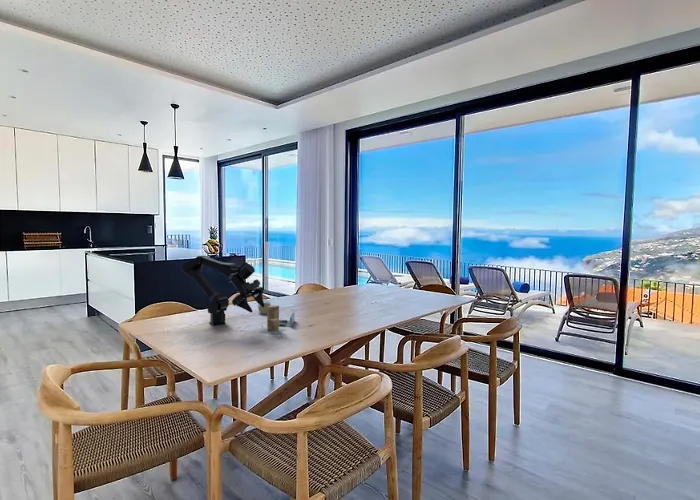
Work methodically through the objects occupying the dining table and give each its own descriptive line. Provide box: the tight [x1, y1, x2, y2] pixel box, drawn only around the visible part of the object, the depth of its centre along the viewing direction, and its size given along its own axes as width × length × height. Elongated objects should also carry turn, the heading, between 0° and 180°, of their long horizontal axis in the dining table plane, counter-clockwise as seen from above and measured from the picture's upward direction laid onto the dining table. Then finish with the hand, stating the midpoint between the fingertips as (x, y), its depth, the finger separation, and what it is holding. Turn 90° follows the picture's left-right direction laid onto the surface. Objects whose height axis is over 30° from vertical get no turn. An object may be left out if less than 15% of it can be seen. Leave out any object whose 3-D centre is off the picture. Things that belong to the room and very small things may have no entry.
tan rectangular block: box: [266, 304, 280, 332], centre depth 180 cm, size 4×4×12 cm
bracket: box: [279, 312, 296, 328], centre depth 193 cm, size 8×12×5 cm
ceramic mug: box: [257, 298, 272, 315], centre depth 217 cm, size 11×8×8 cm
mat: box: [260, 327, 286, 335], centre depth 181 cm, size 9×9×1 cm
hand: (258, 309), depth 184 cm, fingers open, 9 cm apart
